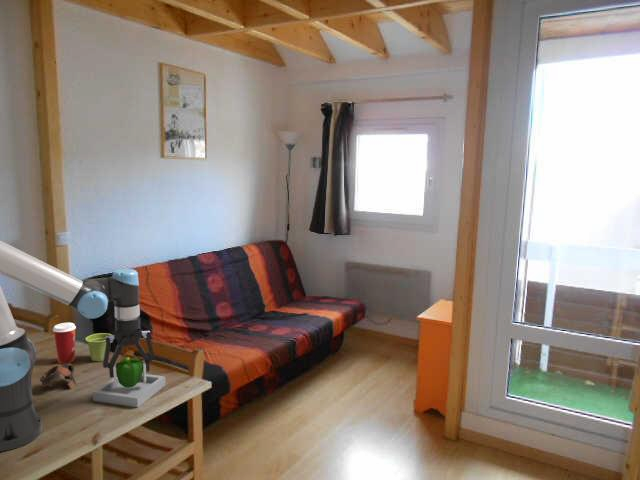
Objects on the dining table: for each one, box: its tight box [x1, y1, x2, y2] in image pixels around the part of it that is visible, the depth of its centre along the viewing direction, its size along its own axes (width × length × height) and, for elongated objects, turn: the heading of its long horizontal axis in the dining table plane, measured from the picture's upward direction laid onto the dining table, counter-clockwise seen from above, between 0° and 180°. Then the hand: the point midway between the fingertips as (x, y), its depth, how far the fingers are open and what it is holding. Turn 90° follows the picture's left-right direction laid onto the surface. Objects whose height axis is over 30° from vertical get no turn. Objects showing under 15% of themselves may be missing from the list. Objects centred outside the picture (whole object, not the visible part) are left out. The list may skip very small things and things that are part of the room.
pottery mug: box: [39, 362, 76, 390], centre depth 160 cm, size 12×10×8 cm
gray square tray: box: [92, 373, 167, 408], centre depth 156 cm, size 16×16×3 cm
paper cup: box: [52, 322, 77, 364], centre depth 180 cm, size 8×8×14 cm
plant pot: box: [85, 332, 113, 362], centre depth 182 cm, size 9×9×9 cm
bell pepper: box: [115, 356, 143, 387], centre depth 155 cm, size 8×8×10 cm
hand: (130, 383), depth 156 cm, fingers closed on bell pepper, 8 cm apart
